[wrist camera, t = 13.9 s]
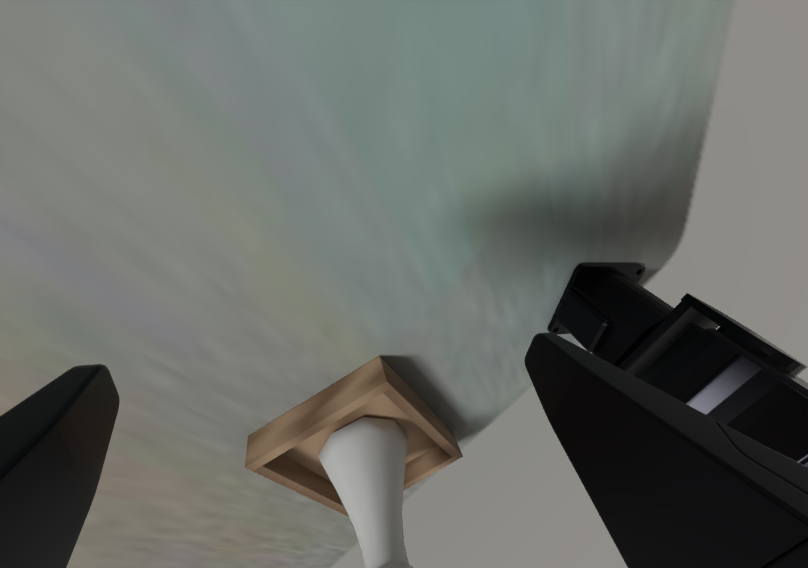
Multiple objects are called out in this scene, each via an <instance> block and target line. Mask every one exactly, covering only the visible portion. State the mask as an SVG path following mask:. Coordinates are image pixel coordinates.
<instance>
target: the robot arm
mask: <svg viewBox="0 0 808 568" xmlns="http://www.w3.org/2000/svg"><path fill="white" fill-rule="evenodd" d="M644 271H645V267H644V266H642V265H640V264H580V265H578V266H577V267H576V268H575V270H574V272H573V274H572V276H571V279H570V281H569V283H568V285H567V287H566V289H565V292H564V294H563V296H562V298H561V300H560V302H559V304H558V307H557V309H556V311H555V313H554V315H553V317H552V320H551V322H550V324H549V326H548V331H549V332H550V333H539V334H536V335H535V336H534V338H533V340H532V342H531V345H530V347H529V349H528V351H527V354H526V356H525V366H526V369H527V371H528V373H529V376H530V378H531V380H532V383H533V385H534V387H535V390H536V392H537V395H538V397H539V399H540V401H541V404H542V406H543V409H544V411H545V413H546V415H547V417H548V420H549V422H550V424H551V426H552V428H553V430H554V432H555V433H556V435H557V437H558V439H559V441H560V443H561V445H562V446H563V448H564V450H565V452H566V454H567V456H568V458H569V459H570V461H571V463H572V465H573V467H574V469H575V471H576V472H577V474H578V476H579V478H580V480H581V482H582V483H583V485H584V487H585V489H586V491H587V493H588V495H589V496H590V498H591V500H592V502H593V504H594V506H595V508H596V509H597V511H598V513H599V515H600V517H601V519H602V520H603V522H604V524H605V526H606V528H607V530H608V532H609V534H610V535H611V537H612V539H613V541H614V543H615V544H616V546H617V548H618V550H619V552H620V554H621V556H622V558H623V559H624V561H625V563H626V565H627V567H628V568H808V383H806V382H805V381H804V380H802V379H801V378H799V377H797V376H796V375H798V374H799V373H800V372H802V371H803V370H804V369H806V368H807V366H805V365H804V364H803V363H801V362H799V361H798V360H796V359H795V358H793V357H792V356H790V355H789V354H787V353H786V352H784V351H783V350H781V349H779V348H778V347H776V346H775V345H773V344H772V343H770V342H769V341H767V340H766V339H764V338H763V337H761V336H760V335H758V334H757V333H755V332H753V331H752V330H750V329H748V328H747V327H745V326H743V325H742V324H740V323H739V322H737V321H735V320H733V319H732V318H730V317H728V316H727V315H725V314H724V313H722V312H720V311H718V310H717V309H715V308H713V307H711V306H710V305H708V304H706V303H704V302H702V301H700V300H699V299H697V298H695V297H693V296H691V295H690V294H686V295H685V296H684V297H683V298H682V299H681V300H682V301H681V302H680V303H679V304H678V305H677V306H676V307H675V308H673V307H671V306H670V305H668V304H667V303H665V302H664V301H663V300H661V299H659V298H658V297H657V296H655V295H654V294H652V293H651V292H649V291H648V290H646V289H644V288H643V287H642V286H640V285H639V284H637V283H638V282H639V280H640V278H641V276H642V275H643V273H644ZM718 326H720V327H719V328H718V329H717V330H716V328H717V327H718ZM569 333H570V334H571V335H572V336H573V337H574V338H575V339H576V340H577V341H578V342H579V343H580V344H581V345H582V346H583V347H584V348H585V349H586V350H587V351H586V350H584V349H582V348H580V347H578V346H577V345H575V344H573V343H571V342H569V341H567V340H565V339H563V338H562V337H560V336H558V335H556V334H569ZM590 352H592V354H591V353H590ZM118 409H119V395H118V392H117V389H116V387H115V384H114V382H113V379H112V377H111V374H110V372H109V370H108V368H107V367H106V366H105V365H102V364H95V365H81V366H76V367H73V368H71V369H70V370H68V371H67V372H65V373H64V374H62V375H61V376H59V377H58V378H56V379H55V380H53V381H52V382H50V383H49V384H47V385H46V386H44V387H43V388H41V389H40V390H38V391H37V392H35V393H34V394H32V395H31V396H30V397H28V398H27V399H25V400H24V401H22V402H21V403H19V404H18V405H16V406H15V407H13V408H12V409H10V410H9V411H7V412H6V413H4V414H3V415H1V416H0V568H66V567H67V564H68V562H69V559H70V557H71V554H72V552H73V549H74V547H75V544H76V542H77V539H78V537H79V534H80V532H81V529H82V527H83V524H84V522H85V519H86V517H87V514H88V512H89V509H90V506H91V504H92V501H93V498H94V495H95V492H96V489H97V486H98V482H99V479H100V475H101V472H102V468H103V464H104V461H105V457H106V453H107V450H108V446H109V442H110V439H111V435H112V431H113V427H114V424H115V420H116V416H117V413H118Z"/></svg>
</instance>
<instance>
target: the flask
mask: <svg viewBox="0 0 808 568" xmlns="http://www.w3.org/2000/svg"><path fill="white" fill-rule="evenodd" d="M407 442H408V435H407V434H406V433H405V432H404V431H403V430H402V428H401V427H400V426H399V425H398V424H397V423H396V422H395V421H394V420H386V419H377V418H368V417H362V418H360V419H358V420H356V421H354V422H353V423H351V424H349V425H347V426H345V427H343V428H341V429H339V430H337V431H336V432H334V433H332V434H331V435H330V437H329V438H328V440H327V442H326V443H325V445H324V447H323V448H322V450H321V452H320V453H319V455H318V457H319V459H320V461H321V463H322V465H323V467H324V469H325V471H326V473H327V475H328V476H329V478H330V480H331V482H332V484H333V486H334V487H335V489H336V491H337V493H338V495H339V497H340V499H341V501H342V503H343V505H344V507H345V509H346V511H347V513H348V515H349V517H350V519H351V521H352V523H353V525H354V528H355V531H356V534H357V537H358V540H359V543H360V547H361V549H362V553H363V557H364V563H365V568H413V567H412V566H410V565H409V562H408V558H407V554H406V549H405V545H404V536H403V524H402V523H403V522H402V503H403V487H404V473H405V463H406V453H407Z"/></svg>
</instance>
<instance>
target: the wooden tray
mask: <svg viewBox="0 0 808 568" xmlns="http://www.w3.org/2000/svg"><path fill="white" fill-rule="evenodd" d="M362 417H368V418H377V419H386V420H394V421H395V422H396V423H397V424H398V425H399V426H400V427H401V428H402V430H403V431H404V432H405V433H406V434H407V435H408V442H407V453H406V463H405V473H404V487H403V490H405V489H407V488H409V487H410V486H412V485H414V484H416V483H417V482H419V481H421V480H423V479H424V478H426V477H428V476H430V475H431V474H433V473H435V472H437V471H438V470H440V469H442V468H443V467H445V466H447V465H449V464H450V463H452V462H454V461H455V460H457V459H459V458H461V457H462V453H461V451H460V449H459V446H458V444H457V442H456V439H455V437H454V435H453V432H452V431H451V430H450V429H449V428H448V427H447V426H446V425H445V424H444V423H443V422H442V421H441V420H440V419H439V418H438V417H437V416H436V415H435V414H434V412H433V411H432V410H431V409H430V408H429V407H428V406H427V405H426V404H425V403H424V402H423V401H422V400H421V399H420V398H419V397H418V396H417V395H416V394H415V393H414V392H413V390H412V389H411V388H410V387H409V386H408V385H407V384H406V383H405V382H404V381H403V380H402V379H401V378H400V377H399V376H398V375H397V374H396V373H395V372H394V371H393V370H392V368H391V367H390V366H389V365H388V364H387V363H386V362H385V361H384V360H383V359H382V358H381V357H380V356H378V357H377V358H375V359H373V360H372V361H370V362H368V363H367V364H365V365H364V366H362V367H360V368H359V369H357V370H355V371H354V372H352V373H351V374H349V375H347V376H346V377H344V378H342V379H341V380H339V381H337V382H336V383H334V384H333V385H331V386H329V387H328V388H326V389H324V390H323V391H321V392H320V393H318V394H316V395H315V396H313V397H311V398H310V399H308V400H307V401H305V402H303V403H302V404H300V405H298V406H297V407H295V408H294V409H292V410H290V411H289V412H287V413H285V414H284V415H282V416H281V417H279V418H277V419H276V420H274V421H272V422H271V423H269V424H267V425H266V426H264V427H263V428H261V429H259V430H258V431H256V432H254V433H253V434H251V435H250V436H248V443H247V452H246V462H245V468H247V469H249V470H251V471H253V472H256V473H258V474H260V475H262V476H264V477H266V478H268V479H270V480H272V481H275V482H277V483H279V484H281V485H283V486H285V487H287V488H289V489H292V490H294V491H296V492H298V493H300V494H302V495H304V496H306V497H309V498H311V499H313V500H315V501H317V502H319V503H321V504H323V505H326V506H328V507H330V508H332V509H334V510H336V511H338V512H340V513H342V514H345V515H347V516H349V515H348V513H347V511H346V509H345V507H344V505H343V503H342V501H341V499H340V497H339V495H338V493H337V491H336V489H335V487H334V486H333V484H332V482H331V480H330V478H329V476H328V475H327V473H326V471H325V469H324V467H323V465H322V463H321V461H320V459H319V457H318V455H319V453H320V452H321V450H322V448H323V447H324V445H325V443H326V442H327V440H328V438H329V437H330V435H331V434H332V433H334V432H336V431H337V430H339V429H341V428H343V427H345V426H347V425H349V424H351V423H353V422H354V421H356V420H358V419H360V418H362Z"/></svg>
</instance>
